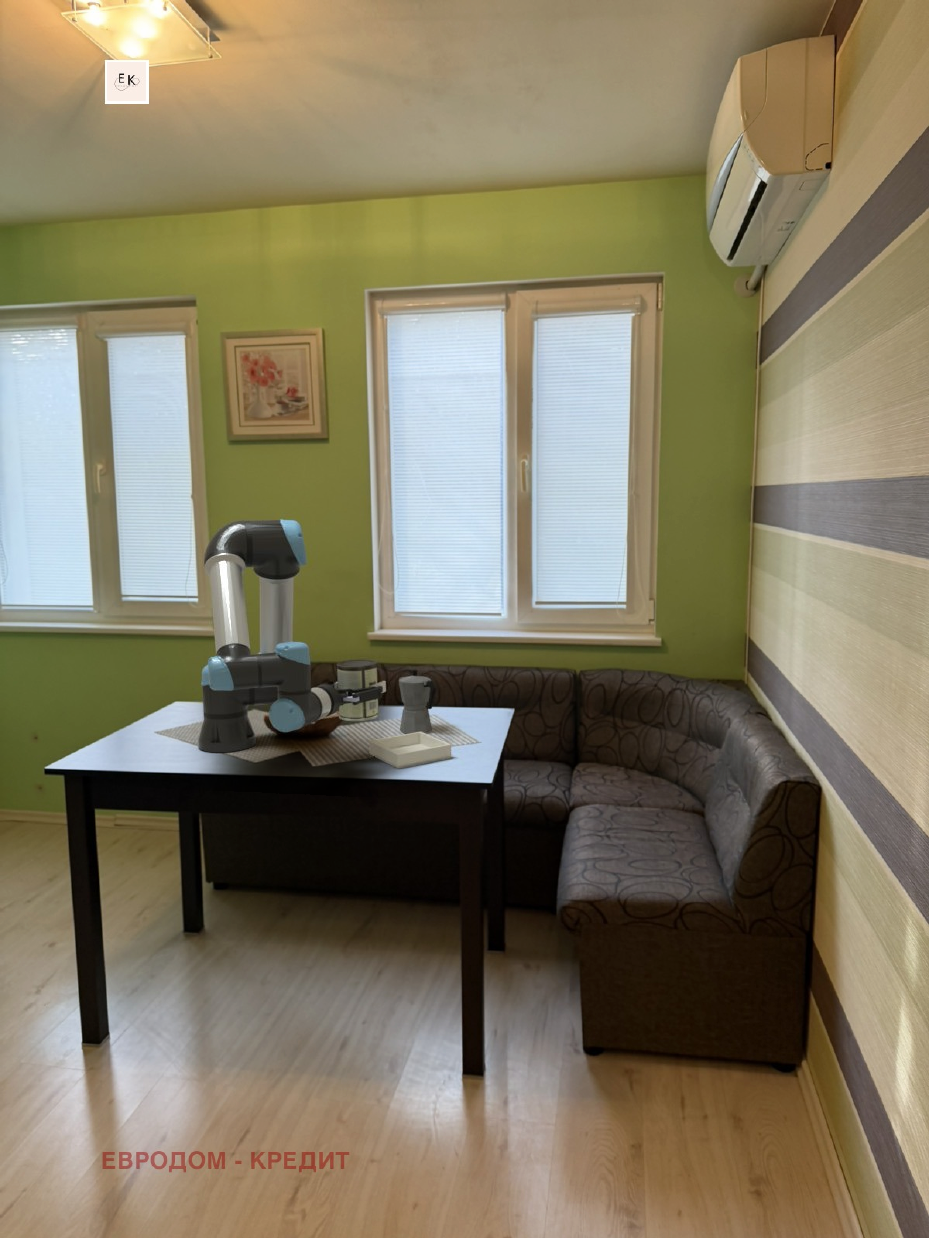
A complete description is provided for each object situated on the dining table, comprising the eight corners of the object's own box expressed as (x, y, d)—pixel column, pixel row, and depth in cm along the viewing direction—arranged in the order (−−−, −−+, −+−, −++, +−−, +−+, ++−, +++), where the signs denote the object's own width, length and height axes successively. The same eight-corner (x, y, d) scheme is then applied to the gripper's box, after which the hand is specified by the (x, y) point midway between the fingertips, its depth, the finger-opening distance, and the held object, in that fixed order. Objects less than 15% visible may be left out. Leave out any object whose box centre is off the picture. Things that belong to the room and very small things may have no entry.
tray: (369, 753, 223) (369, 740, 222) (420, 744, 231) (420, 731, 231) (397, 768, 210) (397, 754, 209) (451, 758, 218) (451, 744, 218)
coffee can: (344, 711, 224) (342, 659, 222) (382, 712, 223) (381, 659, 221) (333, 721, 214) (331, 666, 212) (373, 721, 212) (372, 666, 211)
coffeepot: (388, 729, 247) (387, 668, 245) (413, 723, 253) (412, 664, 251) (423, 739, 236) (422, 676, 234) (448, 733, 242) (447, 671, 240)
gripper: (280, 714, 206) (329, 695, 226) (361, 722, 197) (405, 702, 217) (278, 683, 205) (328, 667, 225) (360, 690, 196) (404, 673, 216)
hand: (366, 684), depth 221 cm, fingers closed on coffee can, 10 cm apart
